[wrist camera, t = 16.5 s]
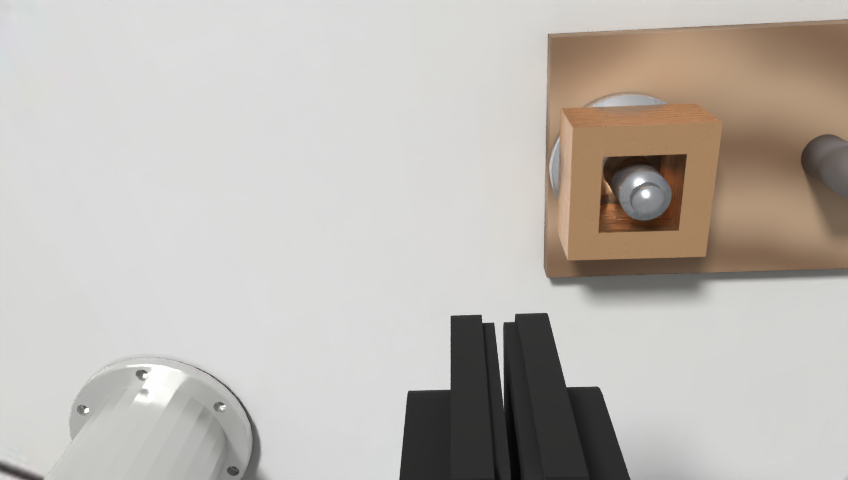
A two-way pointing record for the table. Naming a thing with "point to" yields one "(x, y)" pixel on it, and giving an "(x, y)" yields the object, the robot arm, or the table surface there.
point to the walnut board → (729, 135)
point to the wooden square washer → (680, 166)
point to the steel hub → (626, 169)
